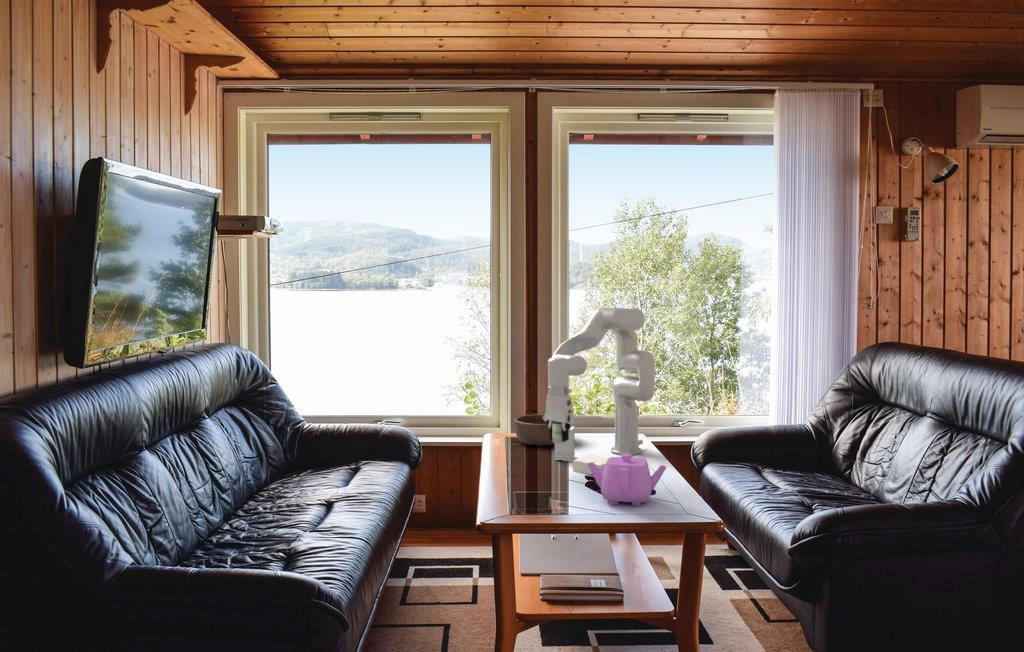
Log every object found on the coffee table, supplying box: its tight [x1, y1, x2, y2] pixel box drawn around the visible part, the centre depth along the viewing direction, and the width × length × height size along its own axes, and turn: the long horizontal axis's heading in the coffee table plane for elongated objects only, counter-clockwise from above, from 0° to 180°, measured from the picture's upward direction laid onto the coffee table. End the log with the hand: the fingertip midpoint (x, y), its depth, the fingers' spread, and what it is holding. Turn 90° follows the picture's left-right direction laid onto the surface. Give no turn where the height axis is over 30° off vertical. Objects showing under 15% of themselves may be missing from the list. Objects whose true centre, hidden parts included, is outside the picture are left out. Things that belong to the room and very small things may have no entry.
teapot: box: [587, 454, 667, 507], centre depth 240 cm, size 19×18×15 cm
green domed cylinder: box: [552, 422, 566, 443], centre depth 276 cm, size 5×5×7 cm
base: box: [572, 454, 610, 475], centre depth 279 cm, size 12×12×4 cm
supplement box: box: [554, 425, 576, 462], centre depth 297 cm, size 7×7×13 cm
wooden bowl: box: [513, 413, 570, 447], centre depth 329 cm, size 25×25×10 cm
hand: (559, 439), depth 276 cm, fingers closed on green domed cylinder, 5 cm apart
